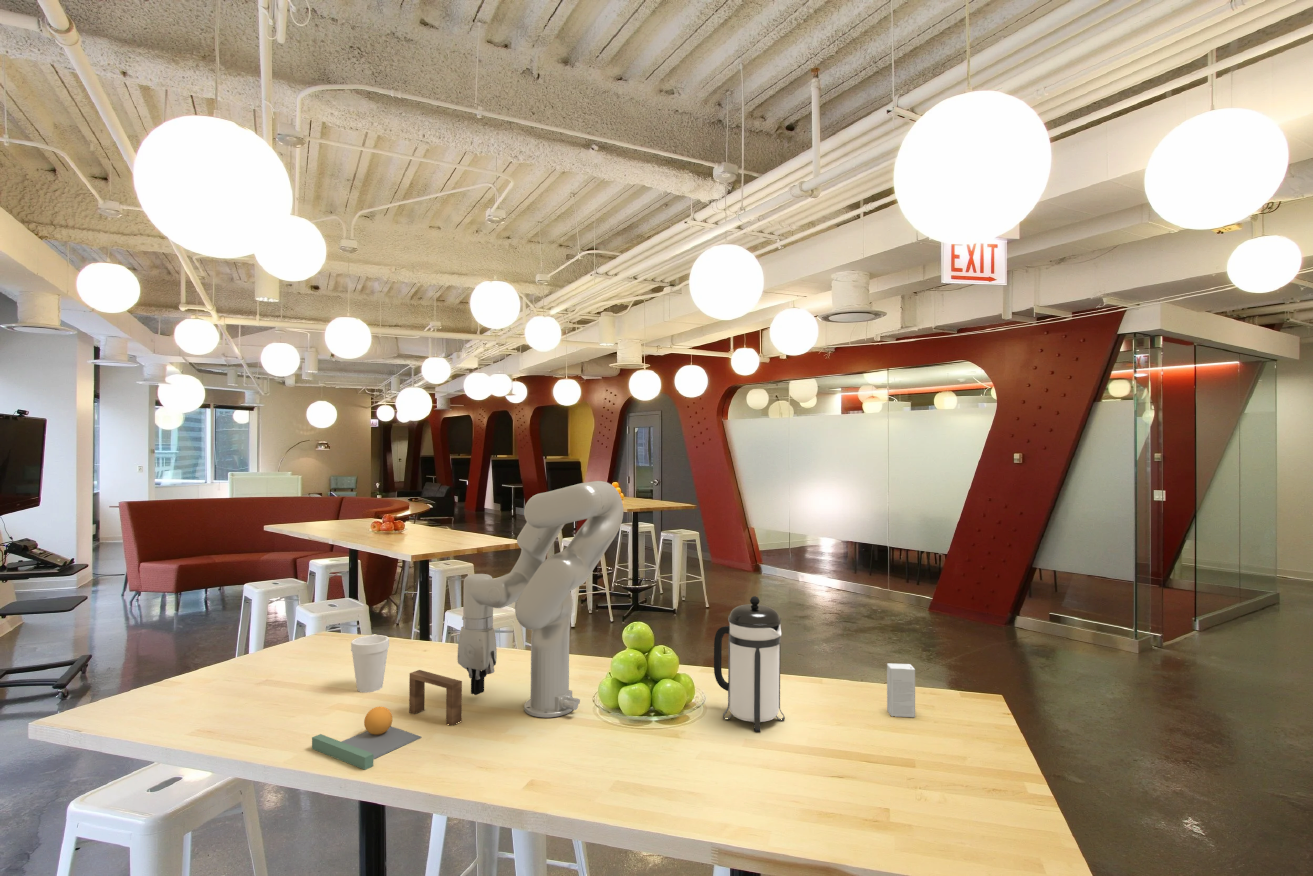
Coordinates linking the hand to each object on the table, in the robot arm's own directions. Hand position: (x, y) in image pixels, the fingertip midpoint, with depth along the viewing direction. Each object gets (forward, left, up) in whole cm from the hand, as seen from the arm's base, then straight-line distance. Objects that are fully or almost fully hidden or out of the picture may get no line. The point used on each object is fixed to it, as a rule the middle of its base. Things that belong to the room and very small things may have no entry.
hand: (477, 692), depth 180 cm
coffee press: (-65, -26, -2) cm, 70 cm away
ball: (+3, +27, +2) cm, 28 cm away
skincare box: (-96, -49, -2) cm, 108 cm away
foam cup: (+30, +10, -2) cm, 32 cm away
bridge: (0, +14, -2) cm, 14 cm away
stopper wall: (0, +39, -2) cm, 39 cm away
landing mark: (0, +30, -2) cm, 30 cm away
